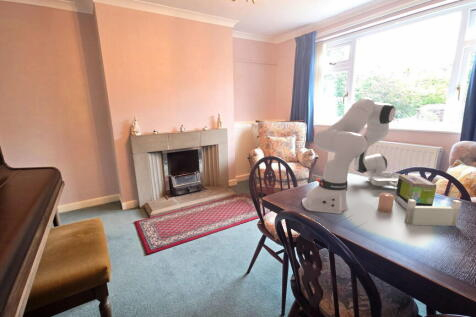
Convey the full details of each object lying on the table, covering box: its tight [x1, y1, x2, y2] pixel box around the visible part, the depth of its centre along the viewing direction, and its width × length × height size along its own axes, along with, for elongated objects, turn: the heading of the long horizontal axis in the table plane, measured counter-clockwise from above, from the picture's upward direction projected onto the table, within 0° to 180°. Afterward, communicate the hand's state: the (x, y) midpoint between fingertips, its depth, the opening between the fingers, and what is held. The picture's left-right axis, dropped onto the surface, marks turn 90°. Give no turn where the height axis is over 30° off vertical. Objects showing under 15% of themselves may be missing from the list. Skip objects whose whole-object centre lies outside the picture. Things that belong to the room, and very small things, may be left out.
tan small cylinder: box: [377, 192, 395, 214], centre depth 112 cm, size 6×6×8 cm
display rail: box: [404, 199, 462, 227], centre depth 98 cm, size 20×2×11 cm, turn 86°
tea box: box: [394, 174, 437, 210], centre depth 115 cm, size 15×10×15 cm
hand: (397, 186), depth 128 cm, fingers closed
